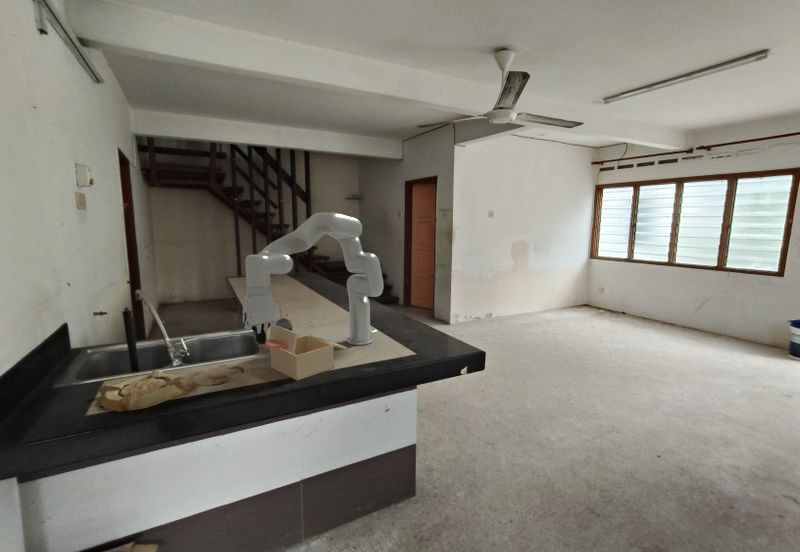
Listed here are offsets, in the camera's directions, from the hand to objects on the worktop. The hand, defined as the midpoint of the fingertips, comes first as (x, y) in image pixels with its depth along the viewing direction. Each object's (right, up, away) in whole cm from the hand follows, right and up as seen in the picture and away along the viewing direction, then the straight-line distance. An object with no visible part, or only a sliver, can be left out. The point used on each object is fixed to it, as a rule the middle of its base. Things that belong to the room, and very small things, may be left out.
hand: (261, 343), depth 130 cm
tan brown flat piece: (-34, -15, -9) cm, 39 cm away
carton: (+11, -12, +14) cm, 21 cm away
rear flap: (+19, -3, +21) cm, 29 cm away
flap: (+6, +1, +6) cm, 9 cm away
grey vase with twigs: (0, -10, +28) cm, 30 cm away
